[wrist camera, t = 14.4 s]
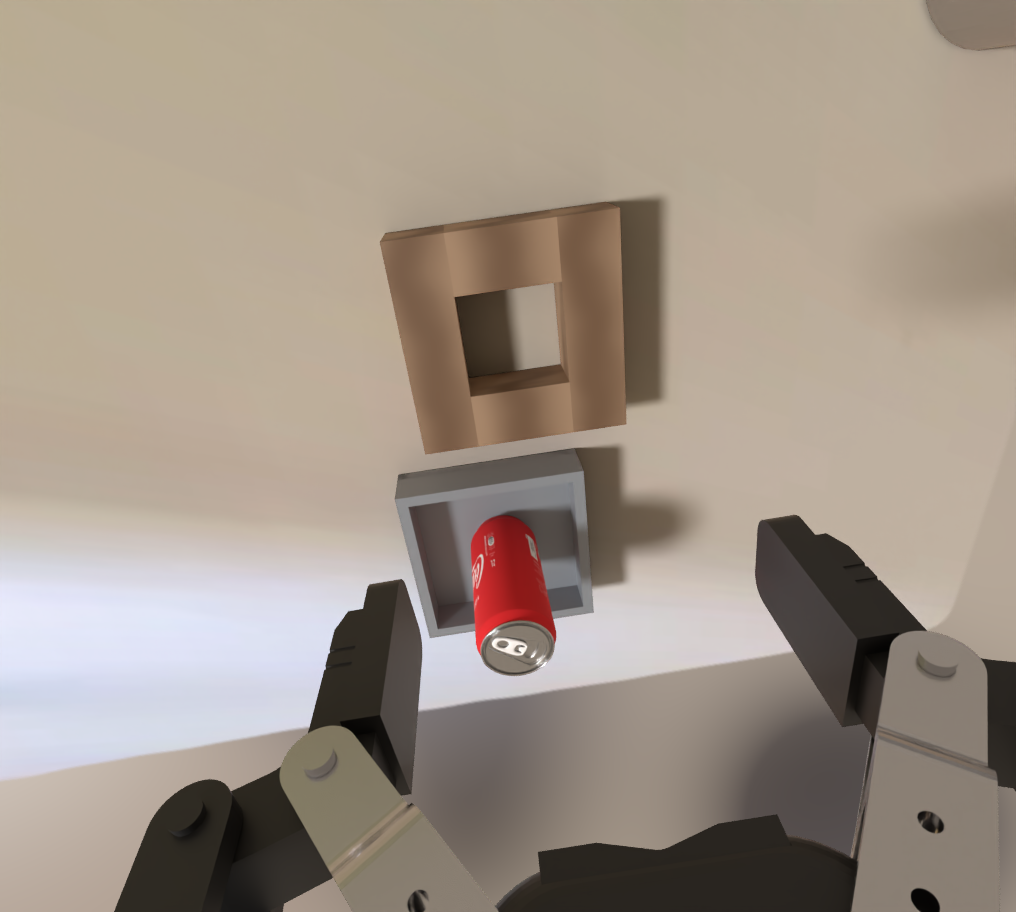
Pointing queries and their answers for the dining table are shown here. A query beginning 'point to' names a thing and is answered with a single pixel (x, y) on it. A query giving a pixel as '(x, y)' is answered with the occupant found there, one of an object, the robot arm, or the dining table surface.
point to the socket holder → (500, 266)
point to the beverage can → (510, 598)
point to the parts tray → (477, 497)
